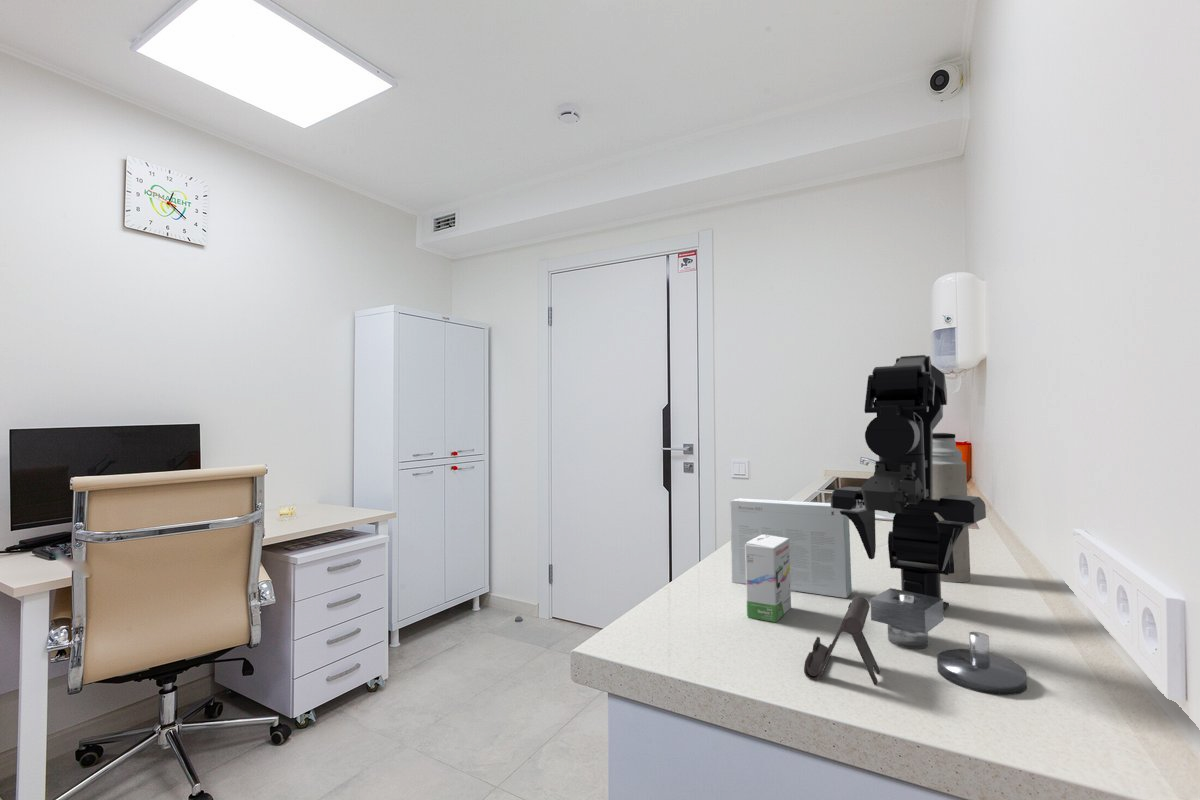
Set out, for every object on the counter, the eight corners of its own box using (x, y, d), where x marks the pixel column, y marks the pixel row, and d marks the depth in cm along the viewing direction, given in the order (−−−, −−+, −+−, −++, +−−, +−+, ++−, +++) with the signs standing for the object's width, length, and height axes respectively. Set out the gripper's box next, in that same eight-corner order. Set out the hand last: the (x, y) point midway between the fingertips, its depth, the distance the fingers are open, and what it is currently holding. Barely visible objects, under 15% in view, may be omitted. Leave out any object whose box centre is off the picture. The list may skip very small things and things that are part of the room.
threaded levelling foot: (896, 632, 83) (894, 587, 83) (934, 642, 79) (932, 595, 79) (882, 641, 79) (880, 595, 80) (920, 652, 76) (919, 603, 76)
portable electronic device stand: (816, 652, 77) (814, 590, 77) (881, 664, 73) (879, 598, 73) (804, 678, 69) (802, 609, 69) (875, 693, 65) (873, 620, 65)
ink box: (776, 623, 87) (774, 546, 88) (745, 617, 90) (743, 543, 90) (792, 607, 94) (790, 536, 95) (763, 602, 97) (761, 533, 97)
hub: (951, 654, 75) (949, 616, 75) (1035, 677, 68) (1033, 635, 68) (926, 676, 69) (925, 634, 69) (1016, 703, 62) (1014, 657, 62)
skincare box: (853, 591, 103) (850, 503, 103) (847, 599, 98) (845, 507, 98) (739, 575, 114) (737, 496, 114) (730, 582, 109) (728, 500, 110)
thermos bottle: (954, 570, 114) (949, 432, 115) (980, 582, 106) (974, 433, 107) (914, 571, 114) (909, 432, 115) (937, 582, 106) (932, 434, 107)
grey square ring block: (891, 608, 84) (890, 588, 84) (943, 620, 79) (942, 598, 79) (871, 620, 80) (870, 598, 80) (925, 633, 74) (924, 610, 75)
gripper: (810, 454, 82) (814, 563, 81) (957, 460, 68) (962, 591, 67) (846, 450, 89) (849, 549, 89) (984, 454, 75) (989, 572, 75)
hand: (905, 564), depth 80 cm, fingers open, 9 cm apart
